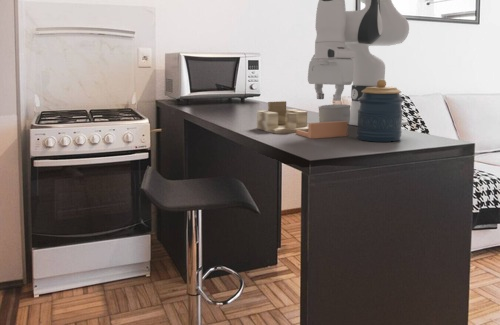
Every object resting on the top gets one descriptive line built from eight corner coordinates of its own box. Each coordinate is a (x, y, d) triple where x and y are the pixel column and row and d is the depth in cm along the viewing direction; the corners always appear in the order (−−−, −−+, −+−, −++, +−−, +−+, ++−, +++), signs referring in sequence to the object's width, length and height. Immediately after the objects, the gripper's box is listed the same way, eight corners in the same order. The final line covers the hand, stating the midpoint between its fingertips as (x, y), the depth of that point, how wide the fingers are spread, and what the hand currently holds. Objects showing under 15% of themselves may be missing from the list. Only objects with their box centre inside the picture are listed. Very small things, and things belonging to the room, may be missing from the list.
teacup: (349, 131, 163) (350, 107, 161) (316, 130, 165) (317, 106, 163) (349, 125, 176) (350, 103, 175) (319, 124, 178) (320, 102, 177)
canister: (355, 135, 154) (357, 78, 150) (398, 136, 151) (401, 78, 148) (357, 142, 141) (360, 79, 137) (404, 143, 139) (408, 80, 135)
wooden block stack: (257, 128, 169) (257, 102, 167) (294, 126, 175) (294, 100, 173) (274, 133, 156) (275, 105, 155) (314, 131, 162) (315, 104, 160)
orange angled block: (294, 133, 156) (295, 119, 155) (329, 131, 161) (330, 118, 160) (310, 138, 147) (311, 123, 146) (347, 135, 152) (347, 121, 151)
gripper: (303, 54, 153) (302, 98, 156) (339, 51, 135) (337, 101, 137) (320, 54, 156) (319, 98, 158) (358, 51, 137) (356, 101, 140)
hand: (328, 99), depth 147 cm, fingers open, 8 cm apart
